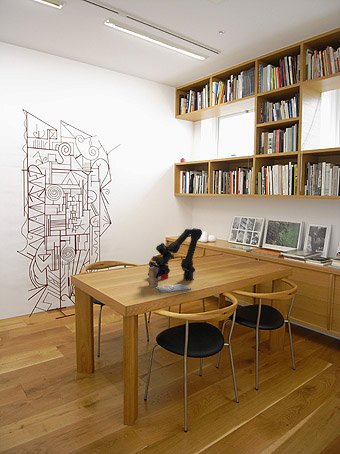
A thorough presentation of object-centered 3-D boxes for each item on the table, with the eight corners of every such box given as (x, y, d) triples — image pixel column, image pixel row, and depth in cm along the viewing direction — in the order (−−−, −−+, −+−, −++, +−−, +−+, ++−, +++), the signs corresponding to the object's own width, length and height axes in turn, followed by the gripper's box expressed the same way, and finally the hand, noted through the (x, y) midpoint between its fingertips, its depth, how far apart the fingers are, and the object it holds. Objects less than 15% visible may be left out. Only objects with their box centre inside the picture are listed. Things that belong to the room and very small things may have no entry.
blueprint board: (182, 285, 237) (182, 281, 237) (190, 289, 226) (190, 286, 226) (155, 288, 228) (155, 284, 227) (162, 292, 217) (162, 289, 217)
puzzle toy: (157, 279, 250) (157, 266, 250) (150, 277, 259) (150, 264, 258) (168, 278, 256) (168, 265, 255) (160, 275, 264) (160, 263, 263)
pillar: (153, 284, 236) (154, 266, 235) (157, 286, 233) (158, 267, 231) (148, 285, 233) (149, 267, 232) (152, 287, 230) (152, 268, 229)
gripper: (150, 250, 241) (137, 266, 235) (166, 253, 226) (153, 272, 220) (159, 259, 246) (146, 276, 240) (175, 264, 232) (162, 282, 226)
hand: (151, 276), depth 232 cm, fingers open, 9 cm apart
